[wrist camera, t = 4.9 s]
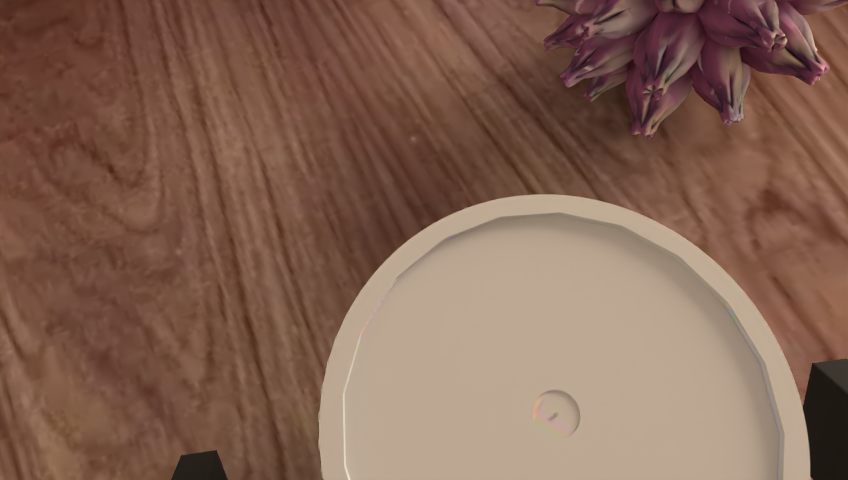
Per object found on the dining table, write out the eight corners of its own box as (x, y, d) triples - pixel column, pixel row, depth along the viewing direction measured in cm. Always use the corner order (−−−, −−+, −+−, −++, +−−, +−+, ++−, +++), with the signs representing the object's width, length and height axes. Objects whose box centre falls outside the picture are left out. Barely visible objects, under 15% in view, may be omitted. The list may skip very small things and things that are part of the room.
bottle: (356, 401, 22) (194, 322, 8) (507, 308, 23) (612, 88, 9) (451, 579, 20) (473, 929, 5) (614, 468, 21) (983, 520, 6)
